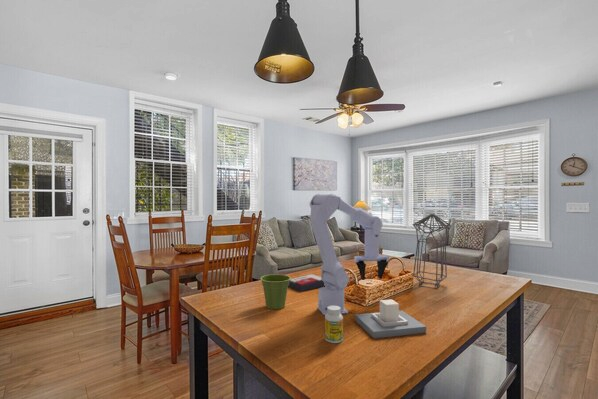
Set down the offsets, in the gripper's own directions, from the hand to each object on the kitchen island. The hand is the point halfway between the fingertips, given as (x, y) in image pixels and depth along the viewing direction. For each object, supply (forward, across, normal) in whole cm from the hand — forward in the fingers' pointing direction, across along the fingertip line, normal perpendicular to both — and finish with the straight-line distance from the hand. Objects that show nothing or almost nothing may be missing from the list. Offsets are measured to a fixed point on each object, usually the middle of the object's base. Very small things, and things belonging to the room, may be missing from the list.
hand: (371, 278), depth 125 cm
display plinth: (+9, -5, -23) cm, 25 cm away
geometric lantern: (+10, +39, +15) cm, 43 cm away
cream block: (+7, -5, -23) cm, 25 cm away
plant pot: (+10, -39, +3) cm, 40 cm away
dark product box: (+10, -20, +27) cm, 35 cm away
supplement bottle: (+10, -26, -28) cm, 39 cm away
